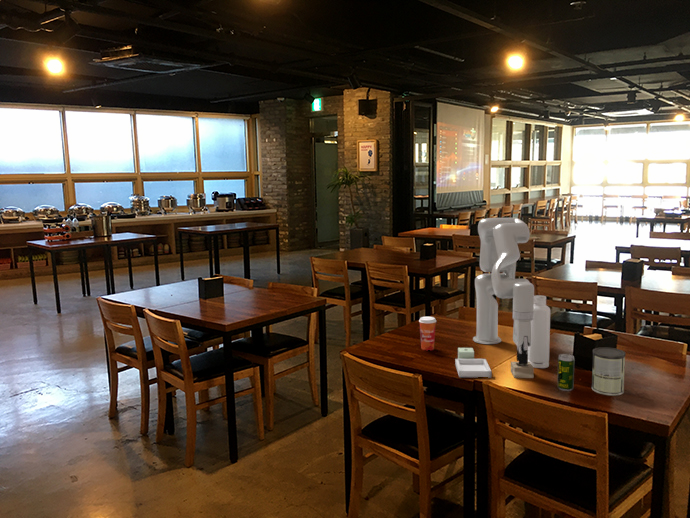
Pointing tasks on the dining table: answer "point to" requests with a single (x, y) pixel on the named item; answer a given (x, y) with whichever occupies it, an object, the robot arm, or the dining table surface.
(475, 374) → the grey tray
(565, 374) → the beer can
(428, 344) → the paper cup
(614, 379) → the coffee can
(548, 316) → the bottle
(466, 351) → the green block
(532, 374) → the beige square block
